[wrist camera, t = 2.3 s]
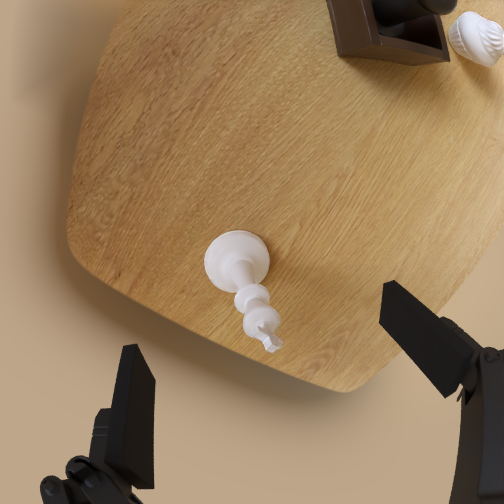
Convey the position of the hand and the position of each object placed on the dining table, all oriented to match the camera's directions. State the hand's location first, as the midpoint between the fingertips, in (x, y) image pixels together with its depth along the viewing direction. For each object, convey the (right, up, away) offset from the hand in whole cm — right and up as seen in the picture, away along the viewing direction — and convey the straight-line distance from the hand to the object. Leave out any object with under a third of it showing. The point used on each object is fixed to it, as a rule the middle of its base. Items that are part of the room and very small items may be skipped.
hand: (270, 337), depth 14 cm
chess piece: (-2, +4, +8) cm, 9 cm away
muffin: (+20, +26, +4) cm, 33 cm away
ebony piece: (+9, +23, +2) cm, 25 cm away
